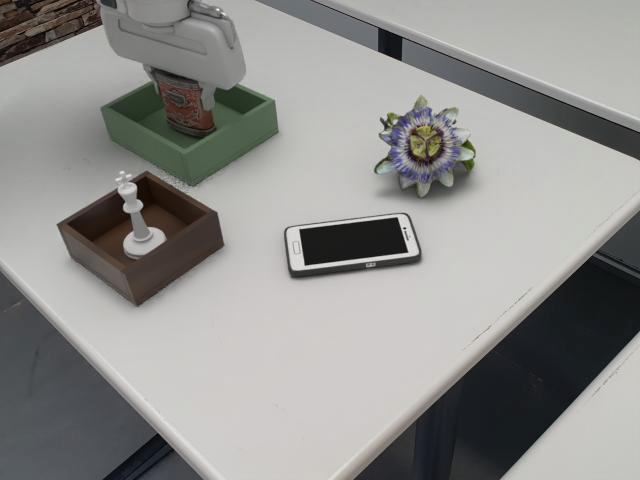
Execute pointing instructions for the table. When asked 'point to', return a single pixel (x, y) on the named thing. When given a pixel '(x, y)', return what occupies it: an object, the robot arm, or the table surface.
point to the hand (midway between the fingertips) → (185, 100)
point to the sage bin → (185, 149)
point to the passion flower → (425, 147)
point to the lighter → (184, 104)
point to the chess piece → (137, 222)
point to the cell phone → (351, 244)
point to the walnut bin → (159, 212)
